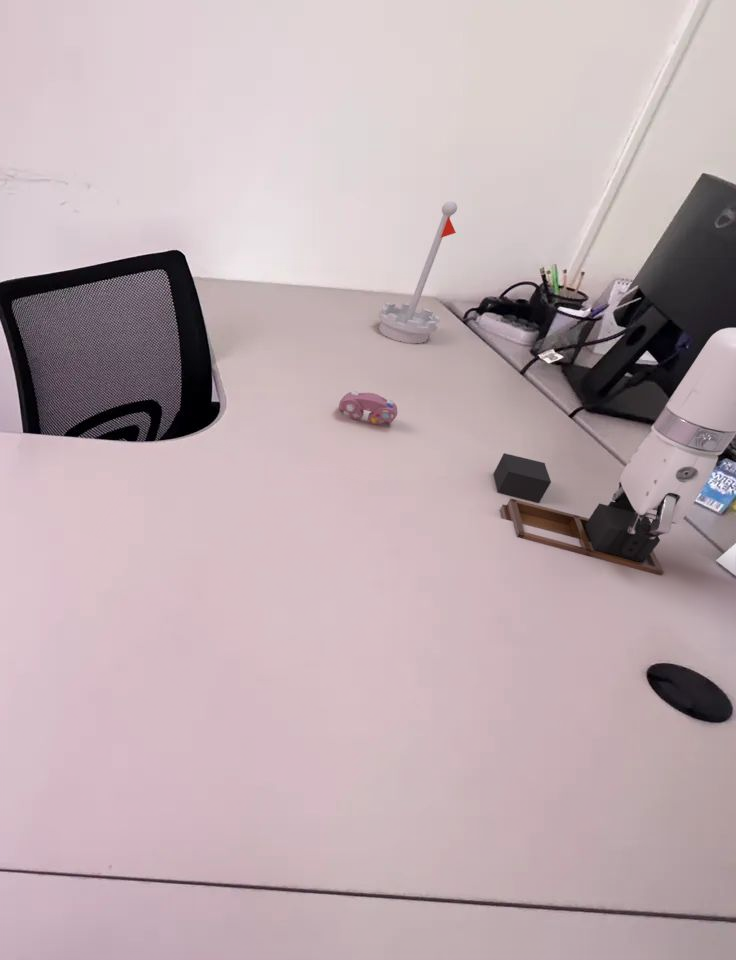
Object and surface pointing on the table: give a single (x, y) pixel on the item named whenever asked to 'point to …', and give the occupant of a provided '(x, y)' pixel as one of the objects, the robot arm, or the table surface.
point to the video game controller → (368, 407)
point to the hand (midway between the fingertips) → (615, 540)
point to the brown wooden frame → (565, 532)
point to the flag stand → (417, 297)
